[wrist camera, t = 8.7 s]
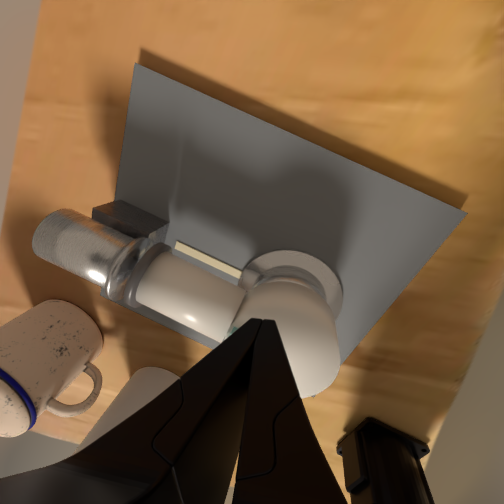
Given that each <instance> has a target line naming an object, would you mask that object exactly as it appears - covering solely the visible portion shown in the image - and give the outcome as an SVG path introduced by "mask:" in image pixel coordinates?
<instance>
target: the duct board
mask: <svg viewBox="0 0 504 504" xmlns="http://www.w3.org/2000/svg"><path fill="white" fill-rule="evenodd" d="M120 199H121V200H123V201H125V202H127V203H129V204H131V205H134V206H136V207H138V208H140V209H142V210H144V211H146V212H149V213H151V214H153V215H155V216H157V217H159V218H161V219H164V220H166V221H168V222H170V224H169V227H168V231H167V235H166V239H165V244H167V245H169V246H171V248H172V254H173V255H175V256H177V257H179V258H181V259H183V260H185V261H187V262H189V263H191V264H193V265H195V266H197V267H199V268H202V269H204V270H206V271H208V272H210V273H212V274H214V275H216V276H218V277H220V278H222V279H224V280H226V281H228V282H230V283H232V284H234V285H236V286H238V282H239V279H240V276H241V274H242V273H243V271H244V269H245V268H246V267H247V265H248V264H249V263H250V262H251V261H252V260H254V259H255V258H257V257H258V256H260V255H262V254H264V253H267V252H269V251H274V250H280V249H293V250H299V251H303V252H306V253H309V254H311V255H314V256H315V257H317V258H319V259H320V260H322V261H323V262H325V263H326V264H327V265H328V266H329V267H330V268H331V269H332V271H333V272H334V273H335V275H336V276H337V278H338V280H339V282H340V285H341V289H342V295H343V303H342V309H341V312H340V314H339V317H338V318H337V320H336V321H335V324H336V331H337V338H338V345H339V353H340V365H341V364H342V363H343V362H344V361H345V360H346V358H347V357H348V356H349V355H350V354H351V352H352V351H353V350H354V349H355V348H356V346H357V345H358V344H359V343H360V342H361V340H362V339H363V338H364V337H365V336H366V334H367V333H368V332H369V331H370V330H371V328H372V327H373V326H374V325H375V324H376V322H377V321H378V320H379V319H380V318H381V316H382V315H383V314H384V313H385V312H386V310H387V309H388V308H389V307H390V306H391V304H392V303H393V302H394V301H395V300H396V298H397V297H398V296H399V295H400V294H401V292H402V291H403V290H404V289H405V288H406V287H407V285H408V284H409V283H410V282H411V281H412V279H413V278H414V277H415V276H416V275H417V273H418V272H419V271H420V270H421V269H422V267H423V266H424V265H425V264H426V263H427V261H428V260H429V259H430V258H431V257H432V255H433V254H434V253H435V252H436V251H437V249H438V248H439V247H440V246H441V245H442V243H443V242H444V241H445V240H446V239H447V237H448V236H449V235H450V234H451V233H452V231H453V230H454V229H455V228H456V227H457V225H458V224H459V223H460V222H461V221H462V220H463V218H464V217H465V216H466V215H467V214H468V213H466V212H464V211H462V210H460V209H457V208H455V207H453V206H451V205H449V204H446V203H444V202H442V201H440V200H437V199H435V198H433V197H431V196H429V195H426V194H424V193H422V192H420V191H418V190H415V189H413V188H411V187H409V186H407V185H404V184H402V183H400V182H398V181H396V180H393V179H391V178H389V177H387V176H384V175H382V174H380V173H378V172H376V171H373V170H371V169H369V168H367V167H365V166H362V165H360V164H358V163H356V162H354V161H351V160H349V159H347V158H345V157H342V156H340V155H338V154H336V153H334V152H331V151H329V150H327V149H325V148H323V147H320V146H318V145H316V144H314V143H312V142H309V141H307V140H305V139H303V138H301V137H298V136H296V135H294V134H292V133H289V132H287V131H285V130H283V129H281V128H278V127H276V126H274V125H272V124H270V123H267V122H265V121H263V120H261V119H259V118H256V117H254V116H252V115H250V114H247V113H245V112H243V111H241V110H239V109H236V108H234V107H232V106H230V105H228V104H225V103H223V102H221V101H219V100H217V99H214V98H212V97H210V96H208V95H206V94H203V93H201V92H199V91H197V90H194V89H192V88H190V87H188V86H186V85H183V84H181V83H179V82H177V81H175V80H172V79H170V78H168V77H166V76H164V75H161V74H159V73H157V72H155V71H152V70H150V69H148V68H146V67H144V66H141V65H139V64H137V63H135V65H134V71H133V78H132V85H131V92H130V98H129V105H128V112H127V118H126V125H125V132H124V139H123V145H122V152H121V159H120V165H119V172H118V179H117V186H116V192H115V199H114V201H117V200H120ZM100 295H101V296H103V297H105V298H107V299H109V300H111V301H113V302H115V303H117V304H119V305H121V306H123V307H126V308H128V309H130V310H132V311H134V312H136V313H138V314H140V315H142V316H144V317H146V318H149V319H151V320H153V321H155V322H157V323H159V324H161V325H163V326H165V327H167V328H169V329H172V330H174V331H176V332H178V333H180V334H182V335H184V336H186V337H188V338H190V339H192V340H194V341H197V342H199V343H201V344H203V345H205V346H207V347H209V348H211V349H214V348H216V347H217V346H218V345H219V344H220V342H218V341H216V340H214V339H212V338H210V337H208V336H205V335H203V334H201V333H199V332H197V331H195V330H193V329H191V328H189V327H187V326H185V325H183V324H181V323H179V322H177V321H175V320H173V319H171V318H169V317H167V316H165V315H163V314H161V313H159V312H157V311H155V310H153V309H151V308H149V307H147V306H145V305H141V306H140V307H138V308H133V307H131V306H129V305H127V304H126V303H125V302H124V298H123V299H121V300H118V301H114V300H112V299H110V298H108V297H107V296H106V294H105V288H103V287H101V293H100ZM224 339H225V337H224ZM224 339H223V341H224ZM223 341H222V342H223ZM311 397H315V395H313V396H311Z"/></svg>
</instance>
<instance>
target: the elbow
mask: <svg viewBox="0 0 504 504" xmlns="http://www.w3.org/2000/svg"><path fill="white" fill-rule="evenodd" d="M245 293H246V290H244V289H242V288H240V287H238V286H236V285H234V284H232V283H230V282H228V281H226V280H224V279H222V278H220V277H218V276H216V275H214V274H212V273H210V272H208V271H206V270H204V269H202V268H199V267H197V266H195V265H193V264H191V263H189V262H187V261H185V260H183V259H181V258H179V257H177V256H175V255H173V254H172V248H171V246H169V245H167V244H165V243H163V242H159V243H157V244H155V245H153V246H152V247H151V248H150V249H149V250H148V251H147V252H146V253H145V254H144V255H143V256H142V258H141V259H140V260H139V262H138V263H137V265H136V266H135V268H134V269H133V271H132V273H131V275H130V277H129V279H128V282H127V284H126V287H125V291H124V302H125V303H126V304H127V305H129V306H131V307H133V308H138V307H140V306H141V305H145V306H147V307H149V308H151V309H153V310H155V311H157V312H159V313H161V314H163V315H165V316H167V317H169V318H171V319H173V320H175V321H177V322H179V323H181V324H183V325H185V326H187V327H189V328H191V329H193V330H195V331H197V332H199V333H201V334H203V335H205V336H208V337H210V338H212V339H214V340H216V341H218V342H220V343H222V341H223V339H224V337H225V339H226V338H228V337H229V336H230V335H231V334H232V333H234V332H235V331H236V330H237V329H238V328H239V327H241V326H242V325H243V324H244V323H245V322H247V321H248V320H249V319H250V318H260V319H262V320H264V319H272V320H275V321H276V324H277V327H278V330H279V333H280V336H281V339H282V342H283V345H284V348H285V351H286V354H287V357H288V360H289V363H290V366H291V369H292V372H293V375H294V378H295V381H296V384H297V387H298V390H299V393H300V397H301V398H306V397H310V396H313V395H316V394H318V393H320V392H322V391H323V390H325V389H326V388H327V387H329V386H330V385H331V384H332V382H333V381H334V380H335V378H336V376H337V374H338V372H339V368H340V353H339V345H338V338H337V331H336V324H335V318H334V315H333V312H332V310H331V308H330V307H329V305H328V304H327V303H326V301H325V300H324V299H323V298H322V297H321V296H320V295H319V294H317V293H316V292H314V291H313V290H311V289H309V288H307V287H305V286H303V285H300V284H296V283H292V282H284V281H277V282H269V283H265V284H262V285H259V286H257V287H255V288H253V289H252V290H250V291H249V292H248V293H247V294H246V295H245ZM244 295H245V296H244ZM225 339H224V340H225Z"/></svg>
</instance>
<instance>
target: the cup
mask: <svg viewBox="0 0 504 504" xmlns="http://www.w3.org/2000/svg"><path fill="white" fill-rule="evenodd" d="M177 379H180V377H179V376H177V375H176V374H174V373H172V372H170V371H168V370H165V369H162V368H158V367H144V368H141V369H139V370H137V371H136V372H135V373H134V374H133V375H132V377H131V378H130V379H129V381H128V382H127V383H126V385H125V386H124V387H123V389H122V390H121V391H120V393H119V394H118V395H117V397H116V398H115V399H114V400H113V402H112V403H111V404H110V406H109V407H108V408H107V410H106V411H105V412H104V414H103V415H102V416H101V418H100V419H99V420H98V422H97V423H96V424H95V426H94V427H93V428H92V429H91V431H90V432H89V433H88V435H87V436H86V437H85V439H84V440H83V441H82V443H81V444H80V445H79V447H78V448H77V449H76V451H75V452H74V453H73V455H74V454H76V453H77V452H79V451H81V450H82V449H84V448H85V447H87V446H88V445H90V444H91V443H92V442H94V441H95V440H97V439H98V438H99V437H101V436H102V435H104V434H105V433H107V432H108V431H109V430H111V429H112V428H114V427H115V426H117V425H118V424H119V423H121V422H122V421H124V420H125V419H126V418H128V417H129V416H131V415H132V414H134V413H135V412H136V411H138V410H139V409H140V408H142V407H143V406H145V405H146V404H147V403H149V402H150V401H151V400H153V399H154V398H155V397H157V396H158V395H159V394H160V393H162V392H163V391H164V390H165V389H167V388H168V387H169V386H170V385H171V384H173V383H174V382H175V381H176V380H177ZM180 380H181V379H180Z"/></svg>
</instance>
